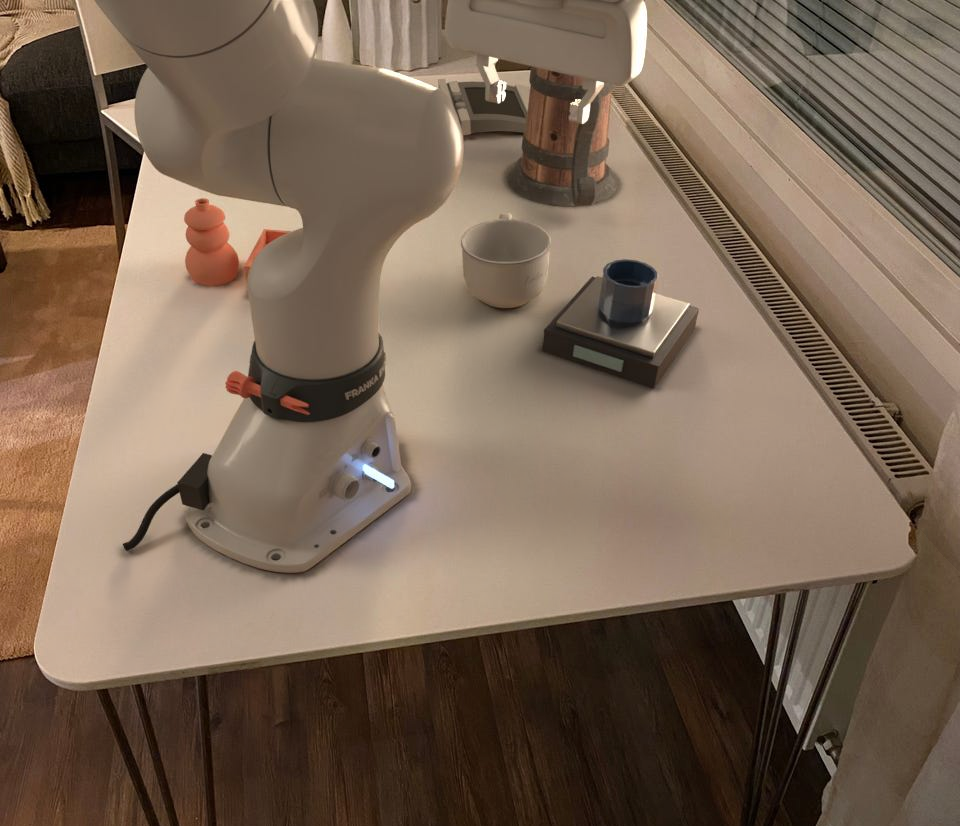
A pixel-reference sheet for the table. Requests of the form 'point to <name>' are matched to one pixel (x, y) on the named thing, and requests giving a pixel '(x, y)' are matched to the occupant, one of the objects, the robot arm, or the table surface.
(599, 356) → the scale
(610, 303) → the cup
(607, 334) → the scale pan
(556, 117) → the tankard
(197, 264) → the pottery
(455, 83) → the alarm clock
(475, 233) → the teacup
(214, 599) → the table surface
